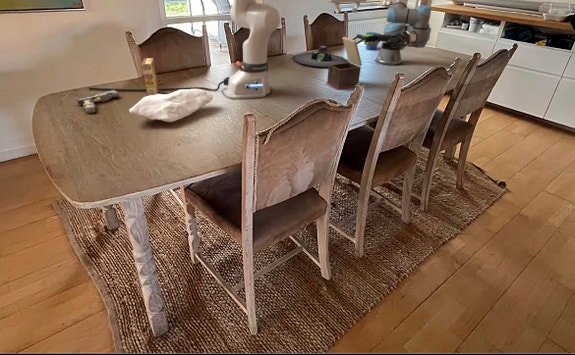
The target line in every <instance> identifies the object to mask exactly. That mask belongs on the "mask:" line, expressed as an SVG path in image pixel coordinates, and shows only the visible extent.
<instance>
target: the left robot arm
mask: <svg viewBox="0 0 575 355" xmlns="http://www.w3.org/2000/svg"><path fill="white" fill-rule="evenodd" d="M366 2H367V0H328V3H331V4H334V7H335V14H338V15H339V14H341V13H342V9H340V4H343V3H344V4H345V3H346V4H347V3H354V7H353V8H352V11H351V12H352V13H353V14H356V13H358V9H359V7H360V6H361V3H366ZM229 16H230V19H231V21H232V22H233V23H234V24H235V25H237V26H238V27H240V28H243V29H249V35H248V38H247V39H246V40H244V41H243V43H242V59H243V60H242V61H236V62H235V65H236V66H237V67H239V69H237V71H236V72H235V73H234V74H232V75H231V76H227V77H225V78H224V79H223V80H222V81H220V82H219V83H218V84H217V87H216V88H214V89H212V88H207V87H204V86H193V87H192V86H190V87H188V86H187V87H166V88H162V87H161V88H158V90H159V91H177V90H181V89H202V90H204V91H212V92H216V91H218V90H219V89H220V86H221V85H222V84H223V86H226V87H224V88H223V91H222V92H223V94H224V95H225V96H226V97H228V98H230V99H233V100H236V99H237V100H238V99H239V100H240V99H253V98H254V99H255V98H264V97H266V95H268V94H269V93H270V92H271V88H270V84H269V78H268V76H269V75H268V72H269V61H268V47H269V46H268V45H269V40H270V38H271V35H272V34H273V33H274V32H275V31H276V30H277V29H278V27H279V25H280V23H281V15H280V12H279V11H278V9H277V8H276V7H273V6H271V5H269V4H266V3H260V2H257V1H256V0H233V3H232V5H231V7H230V10H229ZM88 89H89V90H96V91H112V90H115V91H117V92H119V91H120V92H147V88H111V87H109V88H108V87H107V88H106V87H92V86H91V87H90V86H89V87H88Z"/></svg>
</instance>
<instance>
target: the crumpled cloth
mask: <svg viewBox="0 0 575 355" xmlns="http://www.w3.org/2000/svg"><path fill="white" fill-rule="evenodd" d="M213 97H214V96H213V94H212V93H210V92H208V91H207V90H205V89H181V90H174V91H173V92H171V93H167V94H163V93H158V94H156V95H150V96H148V95H146V96H144V97H142V98H141V99H140V100H139V101H138V102H137V103H136V104H134V105H133V106H132V107H131V108H129V114H130V115H135V116H140V117H145V118H146V119H149V120H152V121H155V120H158V121H163V122H166V123H174V122H176V121H178V120H181V119H183V118H185V117H188V116H190V115H192V114H193V113H195V112H196V111H197V110H199V109H200V108H202V107H204V106H206V105H207V104H210V102H211V101H212V100H213V99H214V98H213Z"/></svg>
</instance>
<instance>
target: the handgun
mask: <svg viewBox="0 0 575 355" xmlns="http://www.w3.org/2000/svg"><path fill="white" fill-rule="evenodd" d="M119 96H120V94H119V91H115V90H107V91H105V92H104V91H103V92H101V93H96V94H94V95H86V94H85V95H84V94H83V95H81V96H80V97H77V98H76V101H77V104H78V105H82V108H83V109H84V110H85V113H87V114H91V113H95V112H96V104H95V103H98V102H106V101H109V100H111V99H113V98H117V97H119Z"/></svg>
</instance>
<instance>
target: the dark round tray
mask: <svg viewBox="0 0 575 355" xmlns="http://www.w3.org/2000/svg"><path fill="white" fill-rule="evenodd" d="M327 51H328V46H325V45H320V46H319V48H318V50H317V51H314V50H313V51H312V52H304V53H298V54H295V55H293V56H292V58H291V59H292V60H293V61H294V62H296V63H298V64H301V65H306V66H312V67H317V68H318V67H319V68H321V67H322V68H329V65H332V64H340V63H348V62H349V61H348V59H347V58H345V57H343V56H340V55H335V54H331V53H329V52H327Z"/></svg>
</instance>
